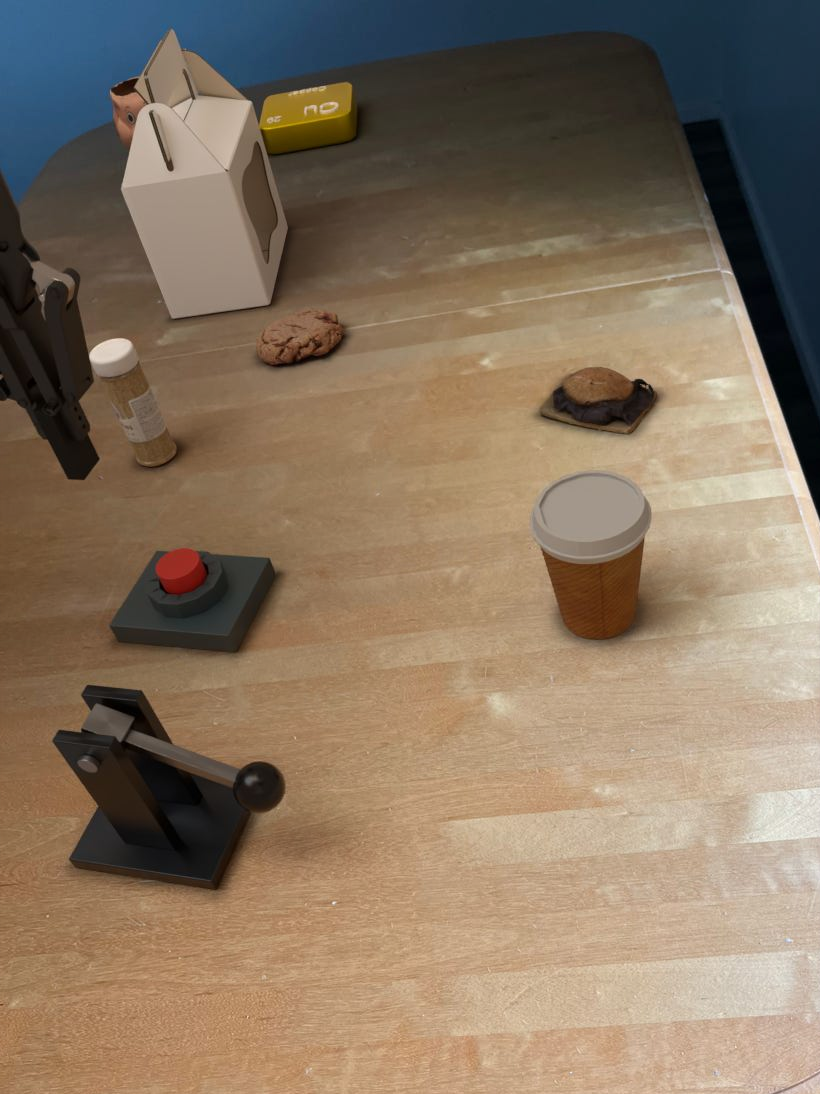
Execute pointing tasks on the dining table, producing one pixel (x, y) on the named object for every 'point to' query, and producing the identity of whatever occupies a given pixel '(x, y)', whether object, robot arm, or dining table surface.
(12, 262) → the robot arm
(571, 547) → the disposable coffee cup
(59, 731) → the lever stand
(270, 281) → the gable box
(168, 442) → the sprinkles bottle
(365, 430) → the dining table surface
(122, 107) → the decorative planter
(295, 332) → the cookie
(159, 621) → the control block
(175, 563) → the button
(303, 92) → the element tile
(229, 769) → the lever handle
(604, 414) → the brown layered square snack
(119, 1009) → the dining table surface
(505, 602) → the dining table surface
